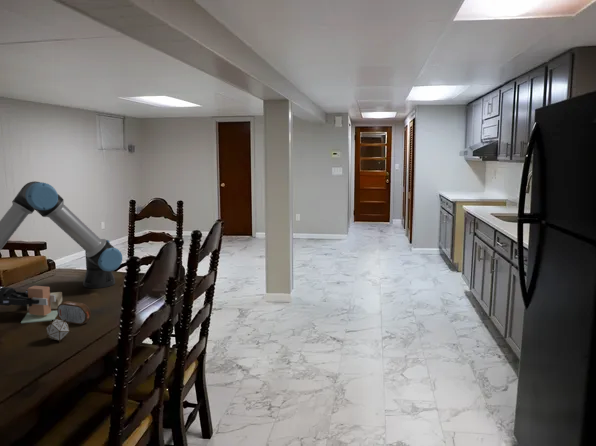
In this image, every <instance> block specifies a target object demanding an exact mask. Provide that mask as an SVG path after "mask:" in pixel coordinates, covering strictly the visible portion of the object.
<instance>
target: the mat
mask: <svg viewBox="0 0 596 446" xmlns="http://www.w3.org/2000/svg"><path fill="white" fill-rule="evenodd" d="M57 316H58V312H57V309H55V310H51V313H49V314H46V315H34V314H29V312H27V313H26V314H25V316H24V317H23V318H22V320H21V322H20V323H21V324H28V323H39V322H53V321H54V320H56V319H55V318H56V317H57ZM52 320H53V321H52Z"/></svg>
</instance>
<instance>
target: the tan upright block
mask: <svg viewBox="0 0 596 446" xmlns="http://www.w3.org/2000/svg"><path fill="white" fill-rule="evenodd" d="M27 290H28V298H31V299H32V298H33V297H36V298H47V301H48V305H36V304H32V306H29V311H28V313H29V314H34V315H46V314H49V313H51V311H52V309H51V302H50V293H51V291H50V290H51V289H50V286H43V285H42V286H41V285H32V286H30V287H28V288H27Z"/></svg>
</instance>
